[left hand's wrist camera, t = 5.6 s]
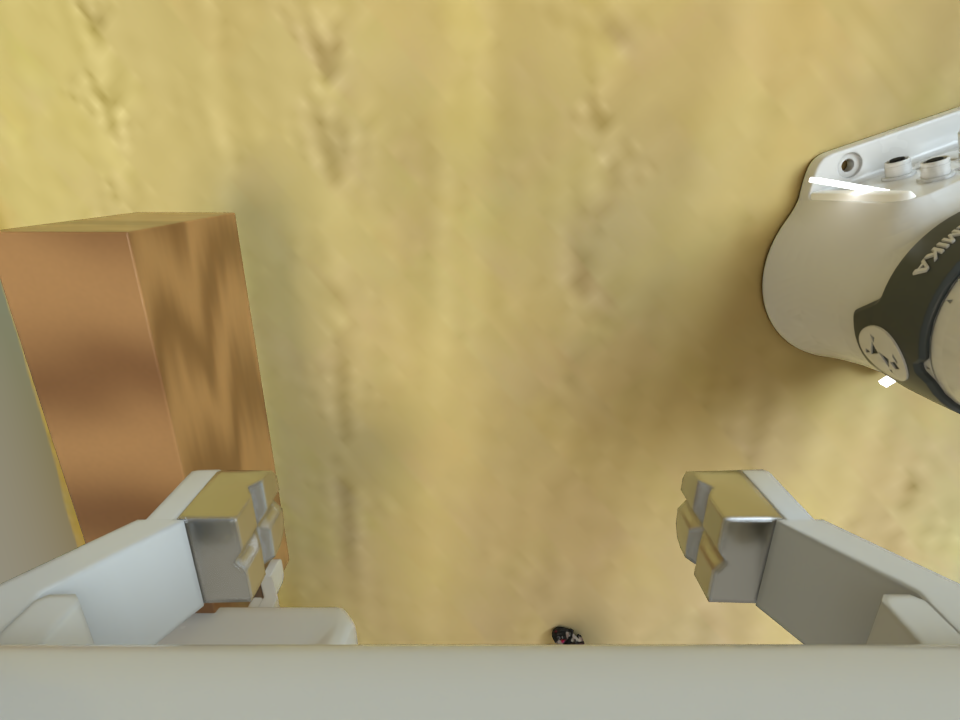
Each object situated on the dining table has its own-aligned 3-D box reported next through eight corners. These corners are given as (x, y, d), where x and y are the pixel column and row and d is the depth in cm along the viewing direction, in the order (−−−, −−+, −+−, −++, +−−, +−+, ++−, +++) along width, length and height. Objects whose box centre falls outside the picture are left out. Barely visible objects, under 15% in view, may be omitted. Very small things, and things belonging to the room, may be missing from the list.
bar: (135, 212, 29) (-17, 231, 20) (235, 212, 29) (127, 231, 20) (212, 559, 38) (129, 681, 29) (289, 559, 38) (230, 681, 29)
